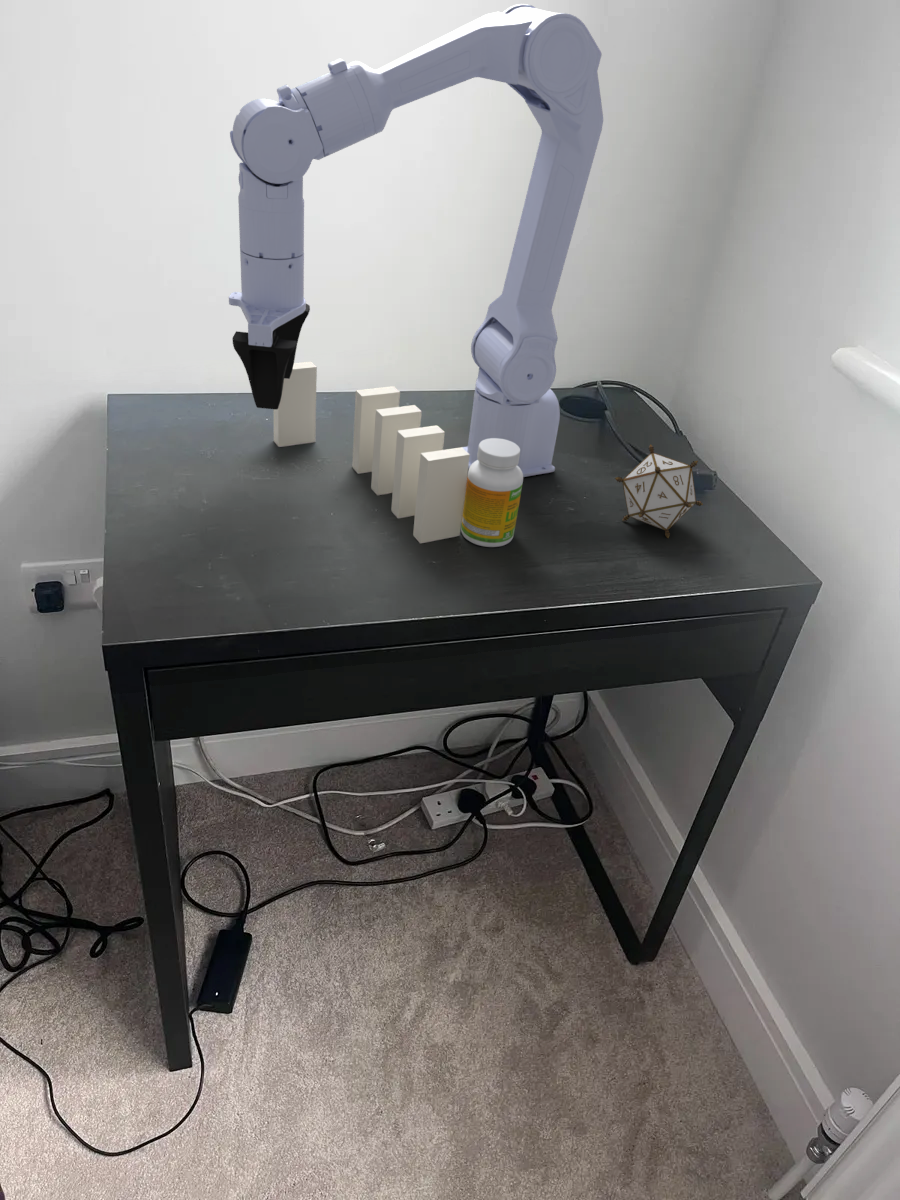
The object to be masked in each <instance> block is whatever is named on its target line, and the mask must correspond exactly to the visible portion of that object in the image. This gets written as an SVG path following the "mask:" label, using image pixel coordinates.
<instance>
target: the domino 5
mask: <svg viewBox="0 0 900 1200" xmlns="http://www.w3.org/2000/svg"><path fill="white" fill-rule="evenodd" d="M462 447H463V446H461V447H455V448H447V449H443V450H439V451H433V452H426V453H421V456H420V466H419V477H418V487H417V498H416V509H415V516H414V524H413V532H412V536H413V537H414V538H415V539H416V540H417V541H418V543H419V544H424V543H430V542H434V541H440V540H444V539H445V540H446V539H449V538H455V537H459V536H460V533H461V523H462V515H463V508H464V500H465V492H466V485H467V477H468V471H469V468H468V465H469V457H470V454H469V453H468V452H466V451H465V450H464V449H463V448H462Z"/></svg>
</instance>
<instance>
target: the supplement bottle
mask: <svg viewBox="0 0 900 1200" xmlns="http://www.w3.org/2000/svg"><path fill="white" fill-rule="evenodd" d="M519 456H520V448H519V447H518V445H516V444H515V443H513V442H511V441H508V440H505V439H499V438H490V439H485V440H483V441H481V442H480V444H479V447H478V453H477V459H478V460H476V461H475V462H473V463H472V464H471V466H470V468H468V473H467V481H466V488H465V496H464V504H463V512H462V519H461V527H460V533H461V535H462V536H463V538H465V539H466V540H467V541H469V542H470V543H472V544H474V545H476V546H481V547H484V548H485V547H486V548H498V547H503V546H505V545H508V544H509V543H511V541H512V540H513V538H514V535H515V529H516V526H517V525H516V524H517V519H518V513H519V512H518V511H519V506H520V501H521V495H522V489H523V484H524V483H523V482H524V477H523V473H522V471H521V469H520V468H519V467H518V466H517V465H518V463H519Z"/></svg>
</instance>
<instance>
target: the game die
mask: <svg viewBox="0 0 900 1200" xmlns="http://www.w3.org/2000/svg"><path fill="white" fill-rule="evenodd" d="M647 449H648V451H649V454H648V455H647V456H646V457H645V458H644V459H642V461H641V462H639V463H638V464H637V465H636V466H635V467H634V468H633V469H632V470H631V471H630V472H629V473H628V474H627V475H626V476H625V477H623V478H622V477H620V476H617V477H614V479H615V480H616V482H617V483H618V482H619V483H622V489H623V494H624V499H625V504H626V510H627V514H625V515H624V516H623V517H622V519H621V520H622V522H625V521H628V520H629V519H630V518H631V519H635V520H636V521H640V522H643V523H644V524H647V525H649V526H653V527H655V528H657V529H661V530H663V531H664V537H666V538H667V539H669V538H670V535H671V532H670V531H669V529H671V528H672V527H673V526H674V525H675V524H676V523H677V522H678V521H679V520H680V519H681V518H682V517H683V516H685V515H686V513H688V511H690V510H691V508H693V506H695V505H696V506H698V507H701V506H704V504H703V501H702V500H697V498H696V489H695V481H694V473H693V468H695V467H696V466H697V465H698V462H699V460H692V462H691V463H690V464H689V463H685V462H683V461H679V460H678V459H673V458H671V457H668V456H665V455H662V454H659V453H656V452H654V450H655V449H654V446H653V445H652V444H649V446H648V448H647Z"/></svg>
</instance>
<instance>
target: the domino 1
mask: <svg viewBox="0 0 900 1200" xmlns="http://www.w3.org/2000/svg"><path fill="white" fill-rule="evenodd" d="M317 369H318V366H317V365H315V364H314V363H313V362H312V361H305V362H304V361H303V362H294V365H293V369H292V373H291V376H290V379H286V378H284V383H283V390H282V396H281V401H280V404H279V407H278V409H272V410H273V442H274V443H275V444H276V446H277V447H278V448H280V447H289V446H295V445H304V444H312V443H316V433H317V432H316V430H317V429H316V427H317V425H316V424H317V421H316V419H317V381H318V380H317V379H318V374H317V373H318V371H317Z"/></svg>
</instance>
